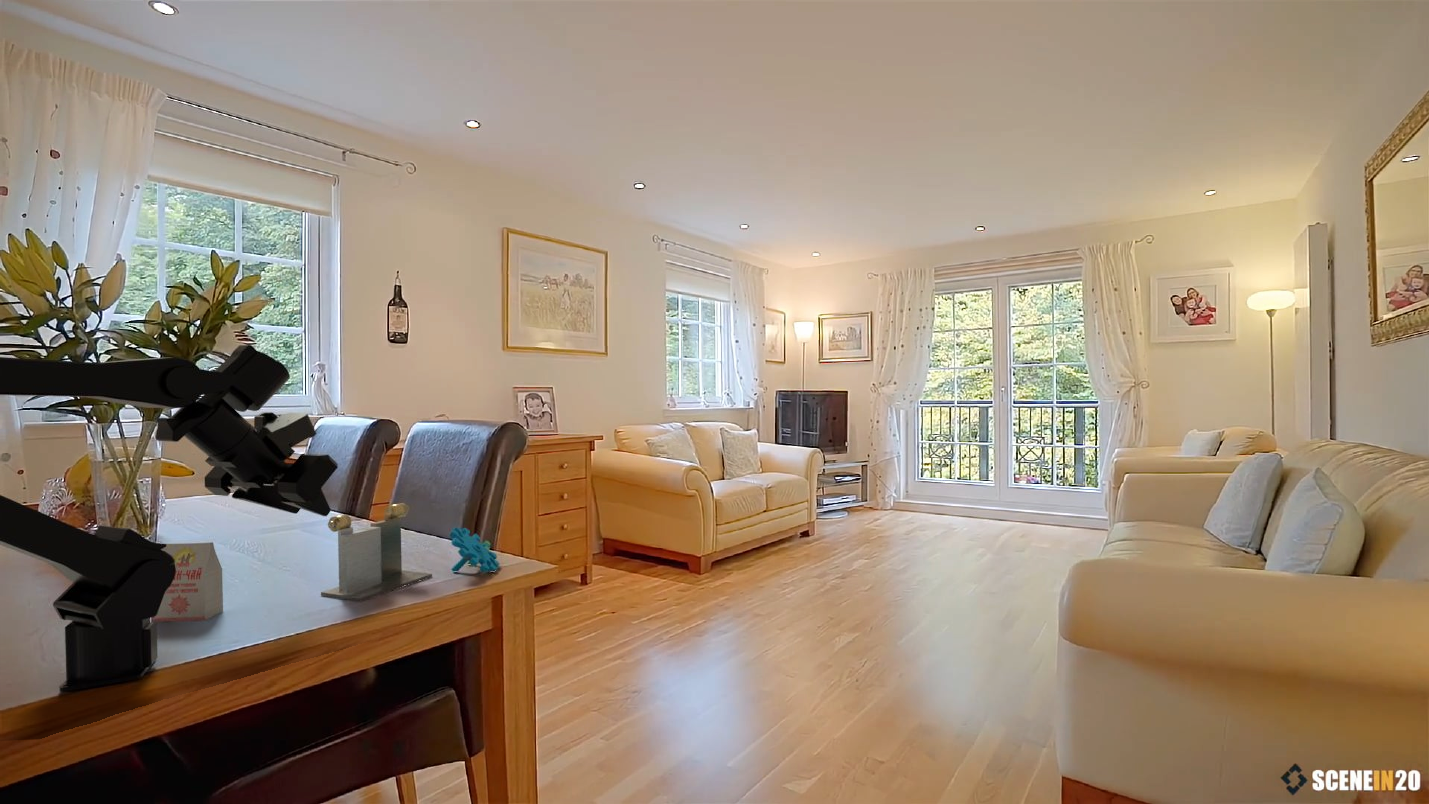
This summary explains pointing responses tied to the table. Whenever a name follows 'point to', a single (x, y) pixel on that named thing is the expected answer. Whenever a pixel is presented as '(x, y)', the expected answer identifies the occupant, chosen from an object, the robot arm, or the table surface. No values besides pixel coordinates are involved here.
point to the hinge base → (386, 559)
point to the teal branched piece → (473, 550)
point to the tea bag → (192, 584)
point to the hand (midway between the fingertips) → (312, 512)
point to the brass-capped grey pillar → (357, 555)
